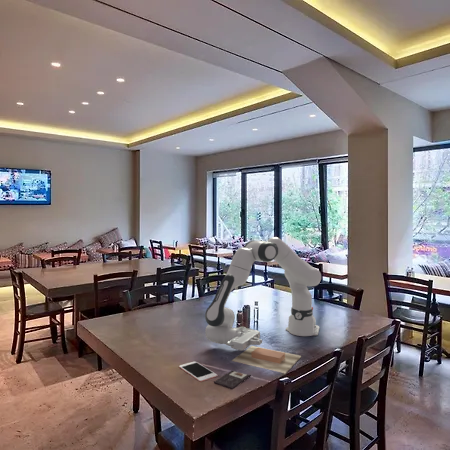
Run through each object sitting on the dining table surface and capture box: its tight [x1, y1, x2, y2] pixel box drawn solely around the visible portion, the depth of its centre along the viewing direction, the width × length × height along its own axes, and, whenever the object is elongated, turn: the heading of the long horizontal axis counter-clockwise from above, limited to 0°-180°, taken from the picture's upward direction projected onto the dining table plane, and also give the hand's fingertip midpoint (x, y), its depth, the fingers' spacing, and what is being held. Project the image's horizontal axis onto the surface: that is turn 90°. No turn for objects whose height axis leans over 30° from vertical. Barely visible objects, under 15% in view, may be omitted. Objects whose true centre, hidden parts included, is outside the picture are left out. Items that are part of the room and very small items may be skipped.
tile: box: [251, 347, 286, 364], centre depth 171 cm, size 7×3×14 cm
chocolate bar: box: [213, 370, 252, 390], centre depth 152 cm, size 9×1×18 cm
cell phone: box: [178, 360, 218, 383], centre depth 158 cm, size 9×18×1 cm, turn 37°
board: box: [231, 345, 302, 376], centre depth 171 cm, size 22×26×1 cm
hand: (261, 342), depth 172 cm, fingers closed
